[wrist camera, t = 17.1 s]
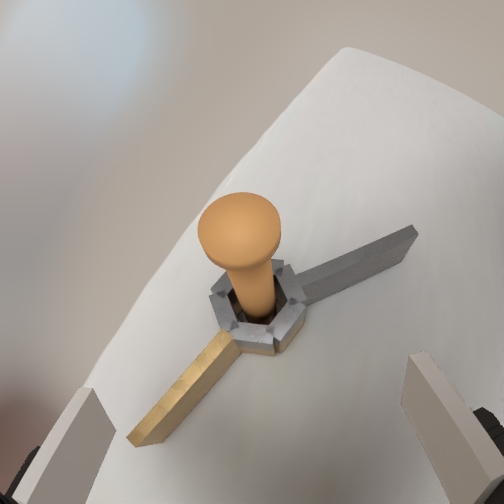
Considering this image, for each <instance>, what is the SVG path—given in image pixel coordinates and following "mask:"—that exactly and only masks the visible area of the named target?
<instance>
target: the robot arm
mask: <svg viewBox="0 0 504 504" xmlns="http://www.w3.org/2000/svg"><path fill="white" fill-rule="evenodd" d="M401 405H402V407H403V409H404V410H405V412H406V414H407V416H408V418H409V420H410V422H411V424H412V426H413V427H414V429H415V431H416V433H417V435H418V437H419V439H420V441H421V443H422V445H423V447H424V449H425V451H426V453H427V455H428V457H429V459H430V461H431V463H432V465H433V467H434V469H435V471H436V473H437V475H438V478H439V480H440V482H441V484H442V486H443V488H444V490H445V492H446V495H447V497H448V499H449V501H450V503H451V504H483V503H484V504H504V428H503V426H502V425H500V422H499V421H498V420H497V418H496V417H495V416H494V414H493V413H491V412H489V411H488V410H486V409H485V408H483V407H482V408H479V409H477V410H475V411H473V412H472V411H471V410H470V408H469V407H468V405H467V404H466V403H465V401H464V400H463V399H462V397H461V396H460V395H459V393H458V392H457V391H456V389H455V388H454V387H453V385H452V384H451V383H450V382H449V380H448V379H447V378H446V376H445V375H444V374H443V372H442V371H441V370H440V369H439V367H438V366H437V365H436V364H435V362H434V361H433V360H432V359H431V357H430V356H429V355H428V354H427V352H426V351H422V352H418V353H415V354H411V355H409V358H408V365H407V372H406V378H405V384H404V389H403V395H402V400H401ZM115 432H116V429H115V428H114V426H113V424H112V422H111V421H110V419H109V417H108V415H107V414H106V412H105V410H104V408H103V406H102V405H101V403H100V401H99V399H98V397H97V395H96V393H95V391H94V389H93V388H83V387H80V388H79V389H78V390H77V392H76V393H75V395H74V396H73V398H72V399H71V401H70V402H69V404H68V405H67V407H66V408H65V410H64V411H63V413H62V414H61V416H60V418H59V419H58V421H57V422H56V424H55V425H54V427H53V429H52V430H51V432H50V433H49V435H48V436H47V438H46V440H45V441H44V443H43V445H42V446H41V447H40V446H38V447H36V448H35V449H34V450H33V451H32V452H31V453H30V454H29V455H28V457H27V459H26V460H25V464H23V465H22V467H21V470H20V471H19V472H18V474H17V475H16V477H15V479H14V480H13V482H12V484H11V485H10V487H9V489H8V491H7V492H6V494H5V495H3V494H2V493H1V492H0V504H85V503H86V500H87V498H88V495H89V493H90V490H91V488H92V486H93V483H94V481H95V478H96V476H97V474H98V471H99V469H100V467H101V464H102V462H103V460H104V457H105V455H106V453H107V450H108V448H109V446H110V444H111V441H112V439H113V437H114V435H115Z"/></svg>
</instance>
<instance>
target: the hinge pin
mask: <svg viewBox="0 0 504 504" xmlns="http://www.w3.org/2000/svg"><path fill="white" fill-rule="evenodd" d="M198 237H199V241H200V243H201V245H202V247H203V249H204V251H205V253H206V255H207V257H208V258H209V259H210V260H211V261H212V262H213V263H214V264H216V265H217V266H219V267H221V268H223V269H226V271H227V274H228V276H229V279H230V281H231V283H232V286H233V288H234V290H235V293H236V295H237V298H238V300H239V302H240V305H241V307H242V309H243V312H244V314H245V316H246V319H247V321H248V323H252V324H260V325H270V323H271V322H272V321H273V320H274V318H275V317H276V316H277V310H276V300H275V291H274V282H273V272H272V263H271V257H272V256H273V255H274V253H275V252H276V250H277V248H278V246H279V243H280V239H281V225H280V217H279V214H278V212H277V210H276V208H275V207H274V206H273V204H272V203H271V202H269V201H268V200H267V199H265V198H264V197H262V196H259V195H256V194H253V193H245V192H240V193H233V194H229V195H226V196H223V197H221V198H219V199H217V200H216V201H214V202H213V203H212V204H211V205H209V206H208V207H207V209H206V210H205V211H204V213H203V214H202V216H201V218H200V221H199V224H198Z"/></svg>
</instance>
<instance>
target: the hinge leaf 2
mask: <svg viewBox="0 0 504 504" xmlns="http://www.w3.org/2000/svg"><path fill="white" fill-rule="evenodd" d="M417 236H418V232H417V231H416V230H415V228H414V227H413V225H410V226H408V227H405V228H403V229H401V230H399V231H397V232H394V233H392V234H390V235H388V236H386V237H383V238H381V239H379V240H377V241H374V242H372V243H370V244H368V245H365V246H363V247H361V248H358V249H356V250H354V251H352V252H349V253H347V254H345V255H342V256H340V257H338V258H335V259H333V260H331V261H328V262H326V263H324V264H321V265H319V266H317V267H314V268H312V269H309V270H307V271H305V272H302V273H300V274H297V275H295V274H294V272H293V270H292V268H291V266H290V264H288V265H286V266H284V260H276V259H271V263H272V272H273V282H274V288H277V289H278V291H279V294H280V296H281V298H282V300H283V302H284V305H285V306H284V307H283V308H282V310H281V311H280V312H279V313H278V315H277V316H276V317H275V318H274V320H273V321H272V322H271V323H270V325H260V324H252V323H244V322H239V321H238V319H237V316H236V313H235V311H234V308H233V305H234V304H235V303H236V301H237V300H238V298H237V295H236V293H235V290H234V288H233V286H232V283H231V281H230V279H229V276H228V274H227V271H226V272H225V273H224V274H223V275H222V276H221V278H220V279H219V280H218V281H217V282H216V283H215V284H214V285H213V287H212V288H211V291H212V293H213V294H212V295H210V296H209V298H210V301H211V303H212V306H213V309H214V312H215V315H216V318H217V320H218V323H219V326H220V329H221V330H222V328H224V329H225V330H226V331H227V332H229V333H230V334H231V335H232V336H234V337H232V339H233V341H234V342H235V343H236V345H237V346H240V347H247V348H255V349H263V350H271V351H274V346H275V344H276V345H277V346H278V347H280V348H281V347H282V346H283V344H284V343H285V342H286V340H287V339H288V338H289V337H290V335H291V334H292V333H293V331H294V330H295V329H296V327H297V326H298V325H299V324H300V322H301V321H302V320H303V318H304V317H305V311H306V306H308V305H310V304H312V303H314V302H317V301H319V300H321V299H324V298H326V297H328V296H330V295H332V294H335V293H337V292H339V291H341V290H343V289H346V288H348V287H350V286H352V285H354V284H356V283H359V282H361V281H363V280H365V279H367V278H369V277H371V276H373V275H375V274H377V273H379V272H382V271H384V270H386V269H388V268H390V267H392V266H394V265H396V264H398V263H400V262H401V261H402V259H403V258H404V256H405V255H406V253H407V252H408V250H409V249H410V247H411V245H412V244H413V242H414V241H415V239H416V237H417ZM225 330H224V331H225ZM226 331H225V332H226Z"/></svg>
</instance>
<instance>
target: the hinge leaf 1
mask: <svg viewBox="0 0 504 504" xmlns="http://www.w3.org/2000/svg"><path fill="white" fill-rule="evenodd" d="M274 291H275V299H278V300H279V303H280V305H281V307H282V308H283V307H284V306H285V305H284V302H283V300H282V298H281V296H280V294H279V291H278V289H277V288H274ZM233 308H234V311H235V313H236V316H237V315H238V314H239V313H240V312H241V310H242V307H241V305H240V302H239V300H237V301H236V303H235V304H234V305H233ZM237 319H238V321H239V318H238V316H237ZM239 322H240V321H239ZM303 322H304V318H303V320H302V321H301V322H300V324H299V325H298V326H297V327H296V329H295V330H294V331H293V333H292V334H291V335H290V337H289V338H288V339H287V340H286V342H285V343H284V344H283V346H282V347H281V348H280V347H278V346H277V345H276V344H275V346H274V351H271V350H263V349H255V348H247V347H240V346H237V345H236V343H235V342H234V341H233V339H232V337H234V336H232V335H231V334H230V333H229V332H227V331H226V330H225V329H224V328H222V330H221V331H220V332H219V333H218V334H217V335H216V337H215V338H214V339H213V340H212V341H211V342H210V343H209V345H208V346H207V347H206V348H205V349H204V350H203V352H202V353H201V354H200V355H199V356H198V357H197V359H196V360H195V361H194V362H193V363H192V364H191V365H190V367H189V368H188V369H187V370H186V371H185V372H184V373H183V375H182V376H181V377H180V378H179V379H178V380H177V381H176V383H175V384H174V385H173V386H172V387H171V388H170V389H169V390H168V392H167V393H166V394H165V395H164V396H163V397H162V398H161V399H160V401H159V402H158V403H157V404H156V405H155V406H154V407H153V408H152V410H151V411H150V412H149V413H148V414H147V415H146V416H145V417H144V418H143V420H142V421H141V422H140V423H139V424H138V425H137V426H136V427H135V428H134V429H133V431H132V432H131V433H130V434H129V435H128V436H127V437H126V438H127V439H128V440H129V441H130V442H131V443H132V444H133V445H134V446H135V447H142V446H147V445H153V444H158V443H162V442H163V441H164V440H165V439H166V438H167V437H168V436H169V435H170V434H171V432H172V431H173V430H174V429H175V428H176V427H177V426H178V425H179V424H180V423H181V422H182V420H183V419H184V418H185V417H186V416H187V415H188V414H189V413H190V412H191V411H192V409H193V408H194V407H195V406H196V405H197V404H198V403H199V402H200V400H201V399H202V398H203V397H204V396H205V395H206V394H207V392H208V391H209V390H210V389H211V388H212V387H213V386H214V384H215V383H216V382H217V381H218V380H219V379H220V378H221V376H222V375H223V374H224V373H225V372H226V371H227V369H228V368H229V367H230V366H231V365H232V363H233V362H234V361H235V360H236V359H237V358H238V356H239V355H240V354H241V353H242V352H245V353H253V354H260V355H268V356H275V353H276V351H278V352H279V353H282V352H283V351H284V349H285V348H286V347H287V346H288V344H289V343H290V342H291V340H292V339H293V338H294V337H295V335H296V334H297V333H298V331H299V330H300V329H301V327H302V326H303ZM224 330H225V331H226V332H225V331H224Z"/></svg>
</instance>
